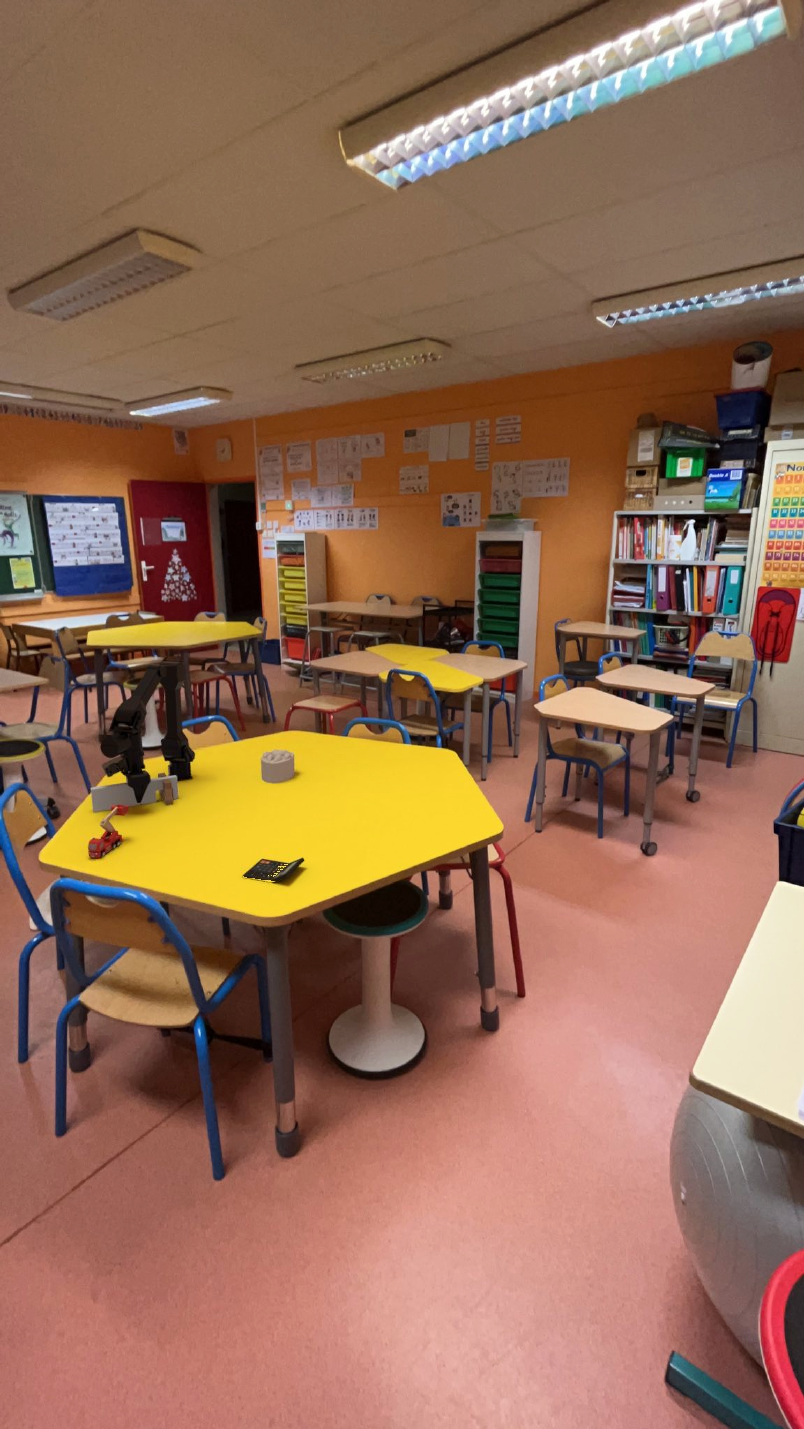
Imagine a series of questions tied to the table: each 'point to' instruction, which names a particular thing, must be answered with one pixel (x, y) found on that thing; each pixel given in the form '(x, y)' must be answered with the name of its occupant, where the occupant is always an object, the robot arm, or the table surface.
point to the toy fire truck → (107, 834)
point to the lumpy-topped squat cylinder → (277, 766)
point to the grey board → (128, 794)
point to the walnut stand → (166, 790)
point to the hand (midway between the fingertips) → (136, 797)
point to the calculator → (272, 869)
